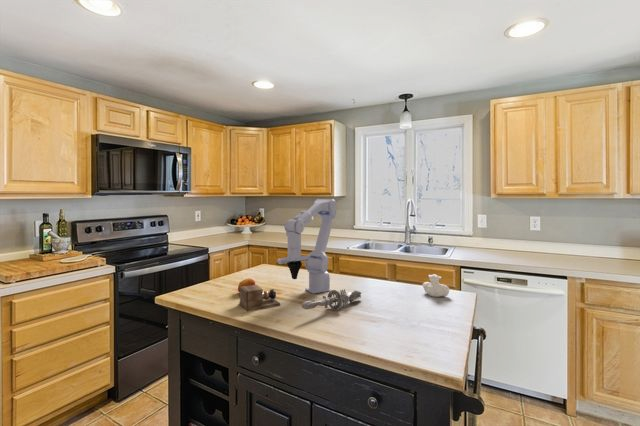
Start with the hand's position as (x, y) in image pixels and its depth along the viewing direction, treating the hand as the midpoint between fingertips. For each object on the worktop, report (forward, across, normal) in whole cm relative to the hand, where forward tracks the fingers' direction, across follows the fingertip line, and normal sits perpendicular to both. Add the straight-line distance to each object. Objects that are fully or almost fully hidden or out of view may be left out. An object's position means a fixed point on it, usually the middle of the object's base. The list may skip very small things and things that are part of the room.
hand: (294, 278), depth 140 cm
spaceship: (+10, +9, -18) cm, 22 cm away
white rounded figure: (+10, +58, -26) cm, 64 cm away
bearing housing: (+9, -15, +2) cm, 18 cm away
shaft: (+8, -15, +2) cm, 17 cm away
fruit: (+10, -15, +19) cm, 26 cm away
